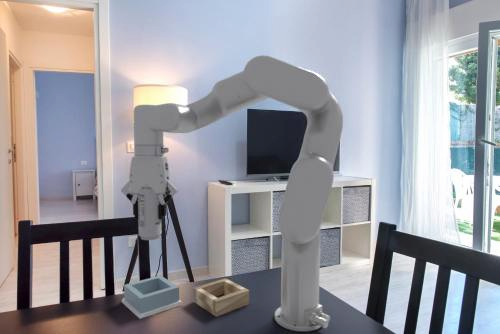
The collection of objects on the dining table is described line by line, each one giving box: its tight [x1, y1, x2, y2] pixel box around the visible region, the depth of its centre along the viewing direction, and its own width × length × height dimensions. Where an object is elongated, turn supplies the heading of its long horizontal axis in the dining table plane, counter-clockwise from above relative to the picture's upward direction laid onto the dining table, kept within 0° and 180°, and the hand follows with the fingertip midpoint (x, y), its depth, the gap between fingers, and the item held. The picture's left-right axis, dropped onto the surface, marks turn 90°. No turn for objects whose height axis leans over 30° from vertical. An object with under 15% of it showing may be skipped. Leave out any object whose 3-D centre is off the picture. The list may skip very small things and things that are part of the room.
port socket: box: [121, 275, 183, 320], centre depth 99 cm, size 12×12×5 cm
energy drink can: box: [137, 184, 163, 241], centre depth 97 cm, size 6×6×15 cm
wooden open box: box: [193, 278, 250, 318], centre depth 100 cm, size 11×11×4 cm
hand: (149, 217), depth 97 cm, fingers closed on energy drink can, 6 cm apart
